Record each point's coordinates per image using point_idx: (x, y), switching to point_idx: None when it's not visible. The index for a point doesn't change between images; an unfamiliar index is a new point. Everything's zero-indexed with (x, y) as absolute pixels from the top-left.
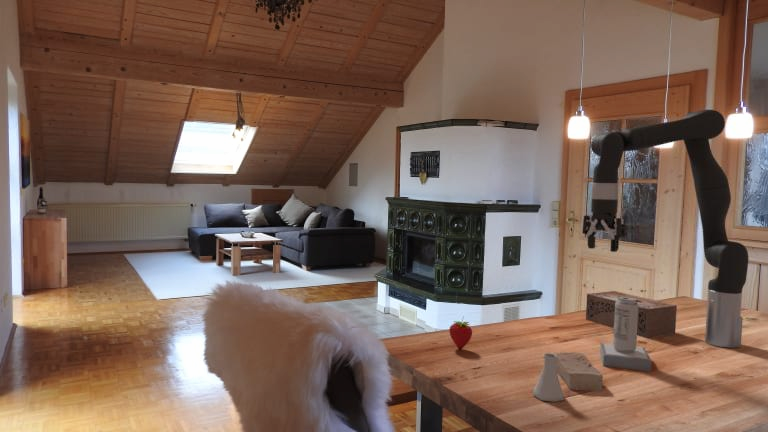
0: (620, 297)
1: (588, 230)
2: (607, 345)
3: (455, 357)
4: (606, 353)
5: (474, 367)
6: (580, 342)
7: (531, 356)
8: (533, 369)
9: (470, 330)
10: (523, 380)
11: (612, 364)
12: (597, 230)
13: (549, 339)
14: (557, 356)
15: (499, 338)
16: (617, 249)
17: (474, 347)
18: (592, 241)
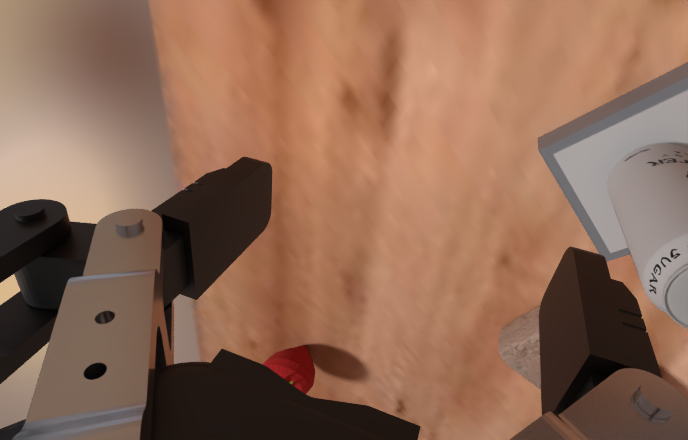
0: (676, 293)
1: (39, 272)
2: (574, 166)
3: (337, 385)
4: (608, 248)
5: (396, 408)
6: (430, 81)
7: (420, 297)
8: (478, 363)
9: (307, 384)
10: (501, 418)
11: None
12: (162, 316)
13: (352, 137)
14: (523, 376)
15: (281, 233)
16: (621, 294)
17: (308, 321)
18: (229, 234)
